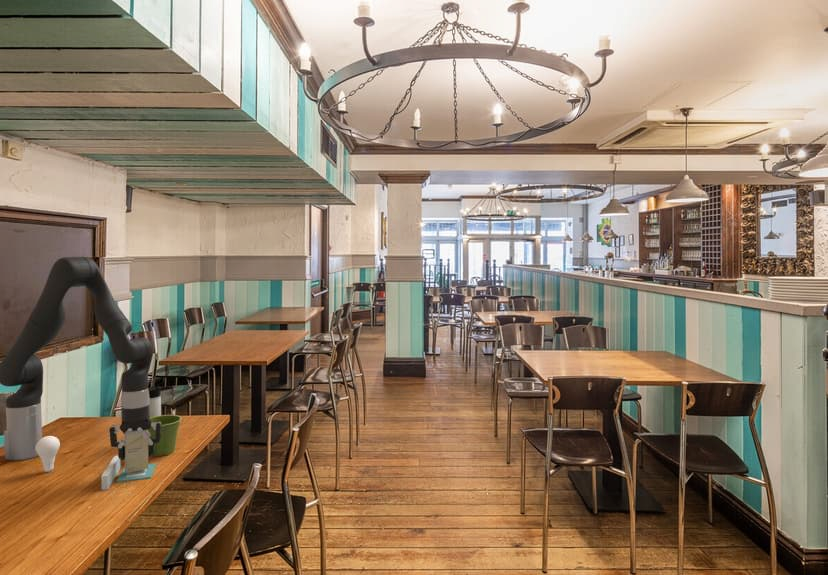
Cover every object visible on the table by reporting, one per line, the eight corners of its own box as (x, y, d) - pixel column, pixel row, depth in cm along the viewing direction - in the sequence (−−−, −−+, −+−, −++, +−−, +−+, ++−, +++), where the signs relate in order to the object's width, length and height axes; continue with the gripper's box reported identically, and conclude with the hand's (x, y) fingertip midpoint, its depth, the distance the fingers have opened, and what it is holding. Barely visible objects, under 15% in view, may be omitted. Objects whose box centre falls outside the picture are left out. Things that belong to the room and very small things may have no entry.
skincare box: (125, 473, 151) (124, 433, 150) (124, 468, 155) (123, 429, 154) (149, 468, 154) (148, 429, 154) (147, 463, 158) (146, 425, 158)
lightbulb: (65, 469, 158) (64, 434, 157) (45, 477, 152) (44, 440, 151) (51, 466, 160) (50, 432, 159) (31, 474, 154) (30, 438, 153)
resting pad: (116, 482, 148) (116, 480, 148) (124, 468, 158) (124, 466, 158) (150, 478, 151) (150, 476, 151) (156, 464, 161) (156, 462, 161)
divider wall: (101, 490, 143) (101, 476, 143) (115, 468, 158) (114, 456, 158) (107, 489, 143) (107, 475, 143) (120, 467, 158) (120, 455, 158)
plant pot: (138, 460, 164) (137, 426, 164) (148, 448, 176) (148, 415, 175) (178, 457, 167) (177, 423, 166) (185, 445, 179) (184, 413, 178)
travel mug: (157, 445, 178) (155, 389, 177) (138, 445, 178) (136, 389, 177) (166, 439, 184) (164, 385, 183) (148, 439, 184) (146, 385, 183)
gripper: (105, 409, 148) (106, 465, 149) (159, 405, 152) (161, 459, 153) (111, 403, 155) (112, 456, 156) (163, 399, 160) (164, 450, 160)
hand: (136, 457), depth 154 cm, fingers closed on skincare box, 7 cm apart
